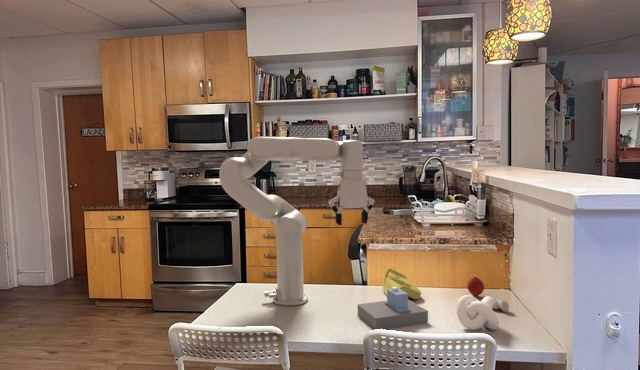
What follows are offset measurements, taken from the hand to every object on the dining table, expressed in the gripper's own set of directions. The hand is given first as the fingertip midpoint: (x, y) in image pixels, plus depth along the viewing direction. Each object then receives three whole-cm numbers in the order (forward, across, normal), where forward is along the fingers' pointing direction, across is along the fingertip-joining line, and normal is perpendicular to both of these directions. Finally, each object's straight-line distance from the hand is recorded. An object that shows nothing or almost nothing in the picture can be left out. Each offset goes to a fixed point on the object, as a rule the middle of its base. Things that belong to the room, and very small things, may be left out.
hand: (351, 224), depth 141 cm
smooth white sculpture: (+29, +43, -22) cm, 57 cm away
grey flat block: (+28, +6, -18) cm, 34 cm away
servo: (+28, +8, -18) cm, 34 cm away
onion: (+28, +46, -9) cm, 55 cm away
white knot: (+29, +28, -32) cm, 51 cm away
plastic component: (+29, +22, +4) cm, 37 cm away
